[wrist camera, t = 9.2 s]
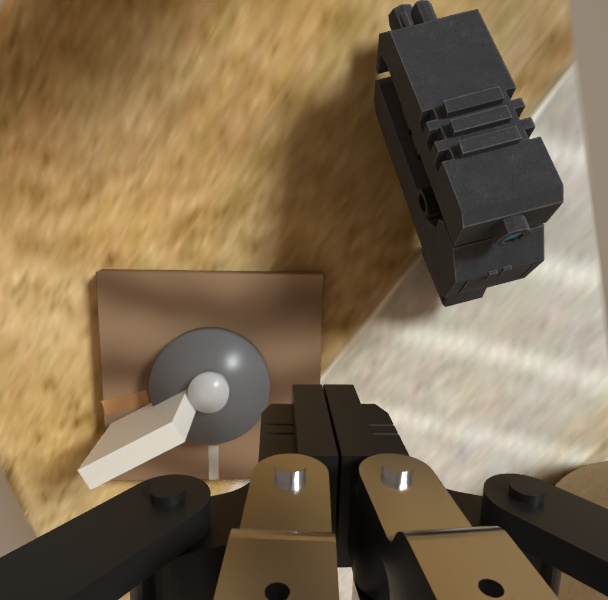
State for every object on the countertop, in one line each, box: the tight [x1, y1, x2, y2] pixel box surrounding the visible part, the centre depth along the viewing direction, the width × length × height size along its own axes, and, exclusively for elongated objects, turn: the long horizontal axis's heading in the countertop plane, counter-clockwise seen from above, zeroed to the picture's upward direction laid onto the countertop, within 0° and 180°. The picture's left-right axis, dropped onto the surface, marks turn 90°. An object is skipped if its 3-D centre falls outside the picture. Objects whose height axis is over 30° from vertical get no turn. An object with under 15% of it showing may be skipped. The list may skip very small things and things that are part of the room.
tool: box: [374, 0, 563, 307], centre depth 35 cm, size 6×19×15 cm, turn 14°
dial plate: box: [96, 269, 323, 480], centre depth 41 cm, size 17×17×2 cm
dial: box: [77, 327, 270, 490], centre depth 37 cm, size 13×9×7 cm
